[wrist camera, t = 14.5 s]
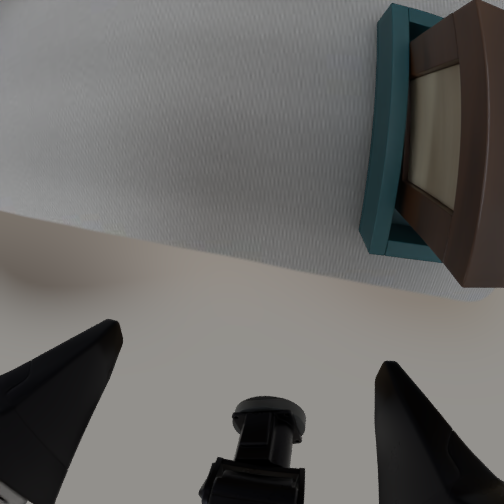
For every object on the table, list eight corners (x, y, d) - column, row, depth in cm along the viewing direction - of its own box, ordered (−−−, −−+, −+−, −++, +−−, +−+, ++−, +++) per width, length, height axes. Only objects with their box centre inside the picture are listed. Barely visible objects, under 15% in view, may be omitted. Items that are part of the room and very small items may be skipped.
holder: (474, 51, 13) (503, 42, 10) (451, 243, 19) (474, 267, 16) (376, 22, 14) (391, 2, 11) (358, 230, 20) (368, 254, 17)
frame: (441, 63, 14) (546, 31, 4) (436, 208, 18) (527, 288, 8) (393, 54, 15) (475, -3, 5) (390, 204, 19) (461, 288, 9)
